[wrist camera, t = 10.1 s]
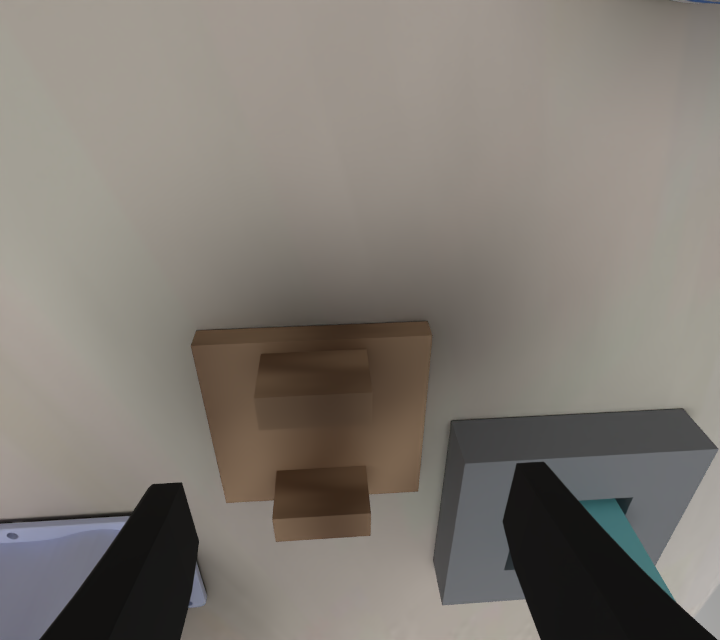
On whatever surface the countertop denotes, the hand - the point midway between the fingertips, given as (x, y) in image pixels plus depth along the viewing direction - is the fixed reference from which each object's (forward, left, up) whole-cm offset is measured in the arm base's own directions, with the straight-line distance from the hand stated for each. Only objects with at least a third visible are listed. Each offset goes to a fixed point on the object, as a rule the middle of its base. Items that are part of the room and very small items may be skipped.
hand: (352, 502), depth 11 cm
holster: (-1, -6, -9) cm, 11 cm away
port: (+10, -12, -9) cm, 19 cm away
